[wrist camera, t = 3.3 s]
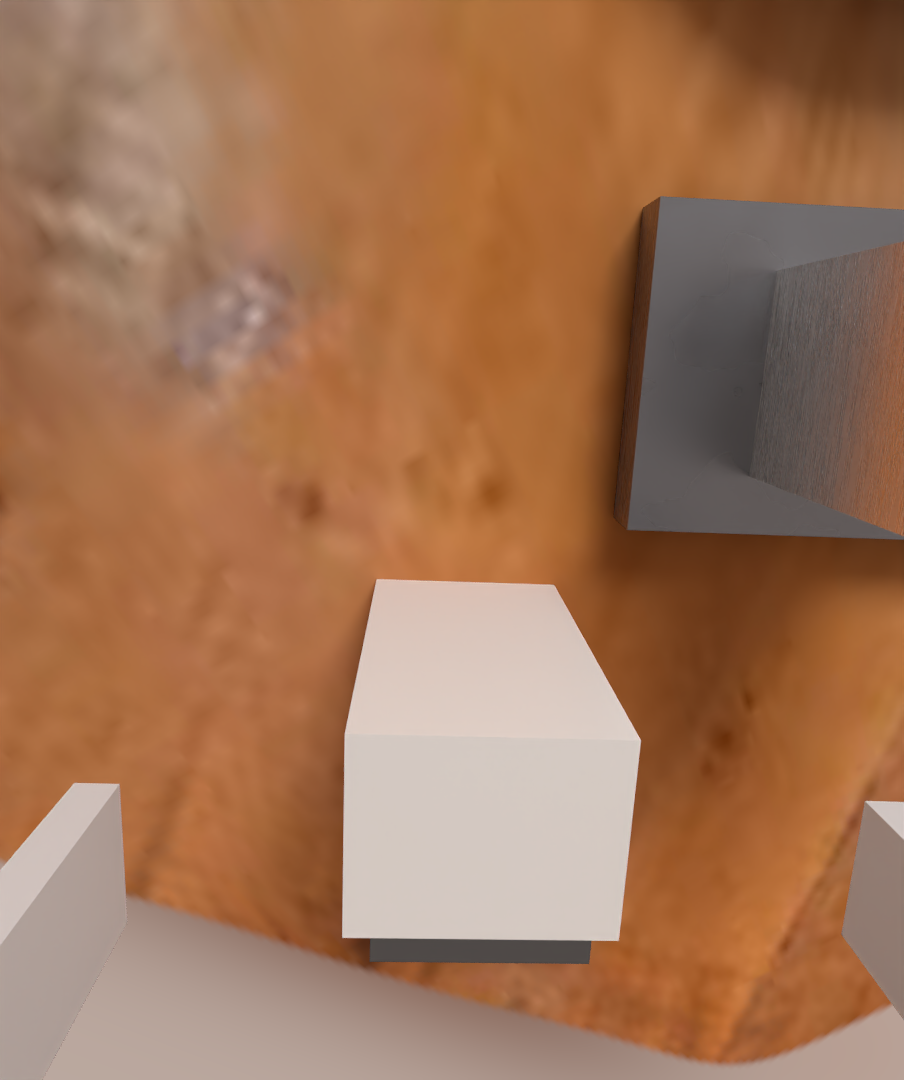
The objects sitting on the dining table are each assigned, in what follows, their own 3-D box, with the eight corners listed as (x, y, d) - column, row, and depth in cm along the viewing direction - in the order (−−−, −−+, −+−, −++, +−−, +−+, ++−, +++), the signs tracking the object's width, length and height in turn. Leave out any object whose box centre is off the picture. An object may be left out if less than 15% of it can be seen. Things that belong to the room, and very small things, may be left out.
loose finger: (376, 578, 22) (344, 733, 13) (554, 584, 22) (640, 740, 13) (373, 726, 23) (342, 961, 14) (542, 730, 23) (615, 963, 14)
